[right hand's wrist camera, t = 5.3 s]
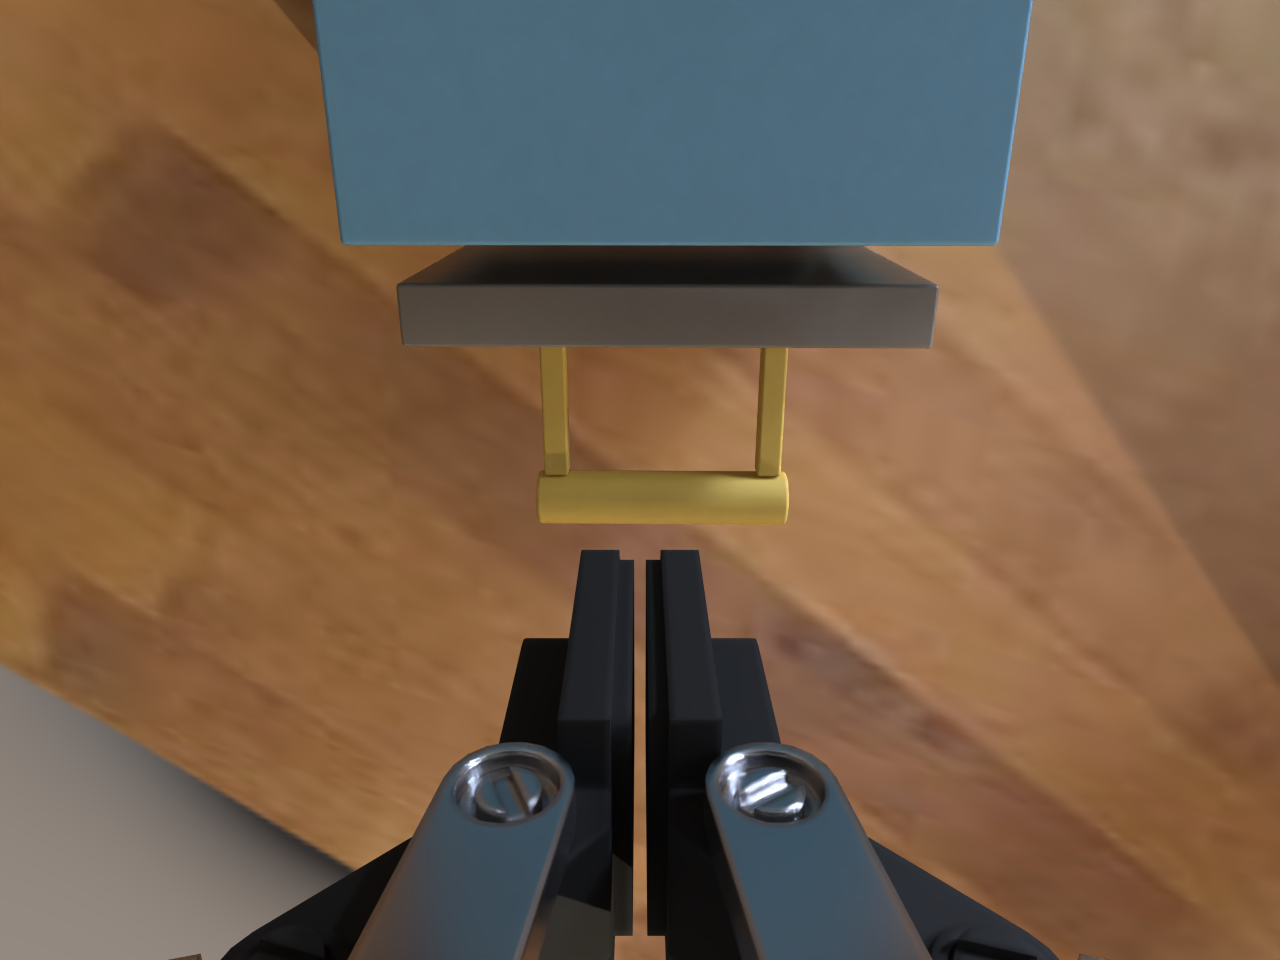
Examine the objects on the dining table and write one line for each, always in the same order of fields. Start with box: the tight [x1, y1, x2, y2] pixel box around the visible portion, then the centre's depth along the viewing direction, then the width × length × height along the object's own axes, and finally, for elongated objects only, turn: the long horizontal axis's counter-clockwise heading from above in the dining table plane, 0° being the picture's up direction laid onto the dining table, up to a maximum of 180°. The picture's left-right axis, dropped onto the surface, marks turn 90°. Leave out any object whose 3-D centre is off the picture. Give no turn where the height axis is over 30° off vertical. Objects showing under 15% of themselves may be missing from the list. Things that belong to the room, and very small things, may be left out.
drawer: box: [397, 245, 939, 525], centre depth 20 cm, size 20×10×10 cm, turn 0°
